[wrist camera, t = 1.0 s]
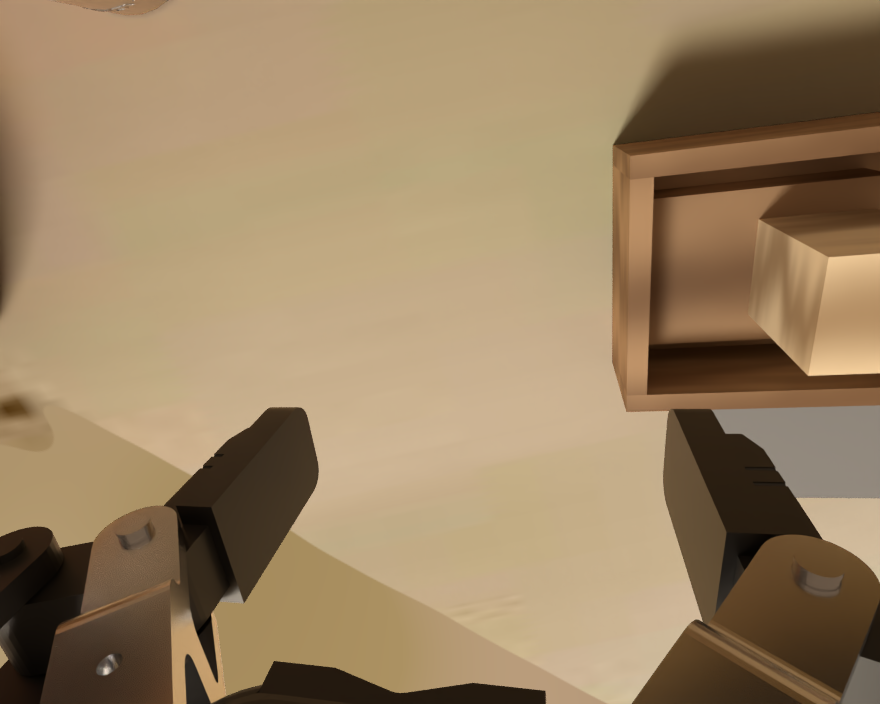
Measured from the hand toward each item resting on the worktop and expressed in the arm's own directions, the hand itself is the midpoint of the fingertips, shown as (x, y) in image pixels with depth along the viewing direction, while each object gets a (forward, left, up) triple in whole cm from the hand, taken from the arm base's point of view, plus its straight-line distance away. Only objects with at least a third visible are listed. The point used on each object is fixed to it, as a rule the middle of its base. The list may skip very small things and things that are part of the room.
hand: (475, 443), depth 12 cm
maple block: (+3, +15, -19) cm, 24 cm away
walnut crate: (+3, +16, -22) cm, 27 cm away
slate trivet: (+15, +17, -22) cm, 31 cm away
